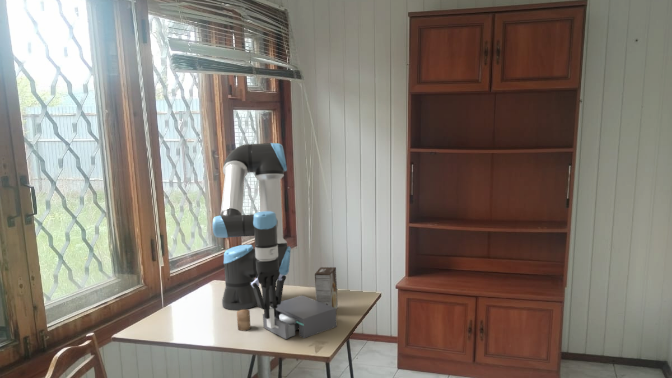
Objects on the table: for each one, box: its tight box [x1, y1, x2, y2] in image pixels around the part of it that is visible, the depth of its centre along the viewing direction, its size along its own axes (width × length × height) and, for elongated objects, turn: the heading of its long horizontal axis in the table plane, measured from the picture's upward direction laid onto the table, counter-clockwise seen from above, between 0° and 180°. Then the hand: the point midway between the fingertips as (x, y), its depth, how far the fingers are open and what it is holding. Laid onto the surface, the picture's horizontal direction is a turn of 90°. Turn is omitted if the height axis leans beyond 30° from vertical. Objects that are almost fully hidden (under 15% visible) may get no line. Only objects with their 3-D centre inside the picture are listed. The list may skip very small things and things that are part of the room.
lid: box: [279, 313, 299, 324], centre depth 171 cm, size 8×8×2 cm
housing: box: [275, 294, 337, 339], centre depth 174 cm, size 20×14×7 cm
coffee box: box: [314, 266, 339, 310], centre depth 186 cm, size 9×6×16 cm
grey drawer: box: [262, 313, 299, 340], centre depth 171 cm, size 14×14×5 cm
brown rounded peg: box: [236, 309, 252, 332], centre depth 173 cm, size 4×4×6 cm
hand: (270, 326), depth 166 cm, fingers closed
